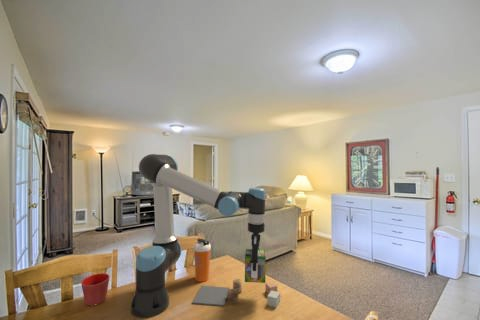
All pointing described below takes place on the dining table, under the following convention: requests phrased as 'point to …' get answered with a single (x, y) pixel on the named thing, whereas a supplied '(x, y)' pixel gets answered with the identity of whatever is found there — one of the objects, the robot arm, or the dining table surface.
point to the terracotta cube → (271, 287)
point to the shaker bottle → (202, 260)
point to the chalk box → (261, 266)
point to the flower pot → (95, 288)
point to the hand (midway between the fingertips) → (254, 272)
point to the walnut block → (232, 295)
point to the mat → (211, 296)
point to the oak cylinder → (237, 285)
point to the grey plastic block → (274, 298)
